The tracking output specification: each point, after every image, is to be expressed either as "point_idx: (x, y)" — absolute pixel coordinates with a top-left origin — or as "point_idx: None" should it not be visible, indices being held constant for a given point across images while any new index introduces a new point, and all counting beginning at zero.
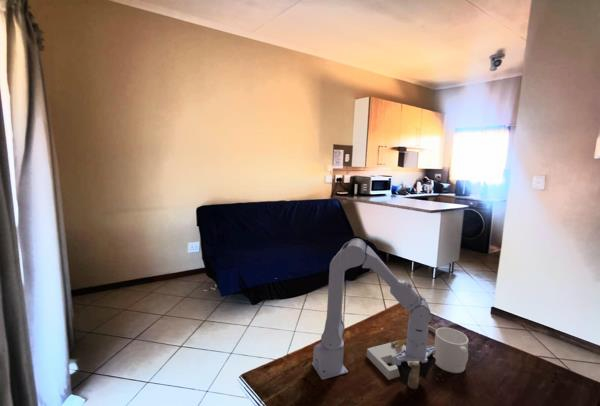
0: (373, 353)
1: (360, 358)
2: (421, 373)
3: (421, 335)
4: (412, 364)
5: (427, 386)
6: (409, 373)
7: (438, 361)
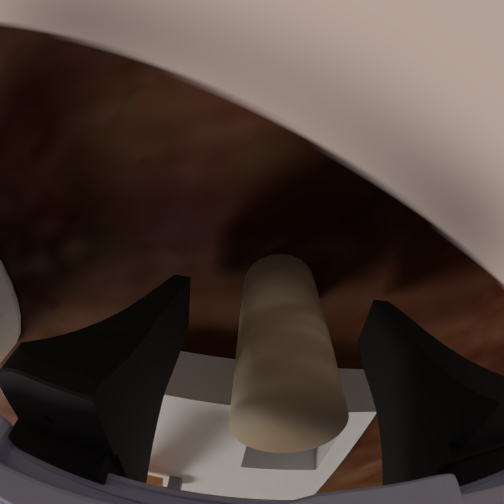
0: (315, 485)
1: (339, 466)
2: (183, 321)
3: None
4: (306, 432)
5: (187, 230)
6: (436, 362)
7: (1, 318)
